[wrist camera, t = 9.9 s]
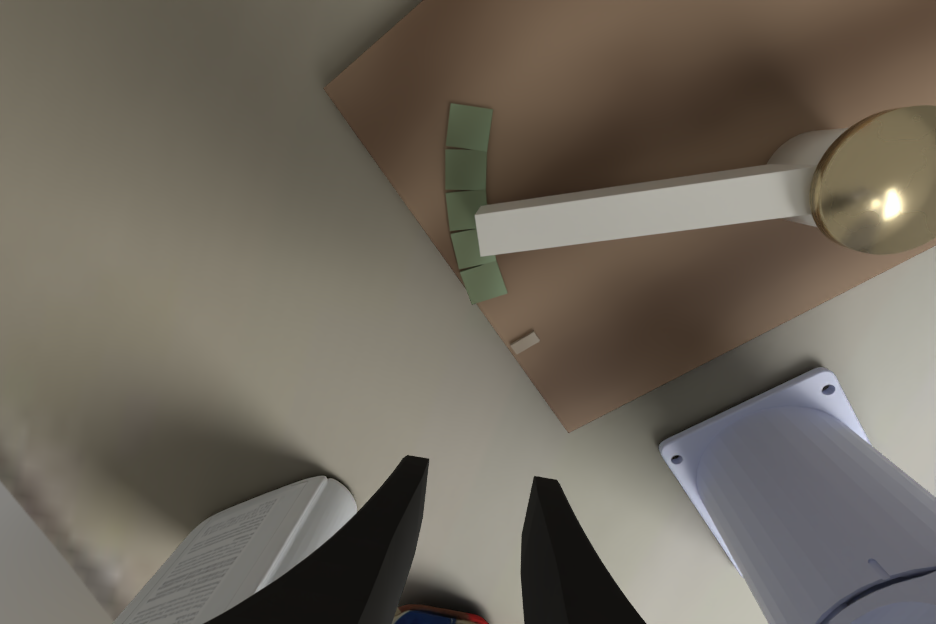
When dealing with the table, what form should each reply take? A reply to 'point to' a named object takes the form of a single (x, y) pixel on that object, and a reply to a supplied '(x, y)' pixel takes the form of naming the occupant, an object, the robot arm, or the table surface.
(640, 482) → the table surface
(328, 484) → the photo printer
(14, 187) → the table surface
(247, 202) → the table surface
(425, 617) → the pencil case
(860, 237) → the peg lever
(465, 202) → the board
